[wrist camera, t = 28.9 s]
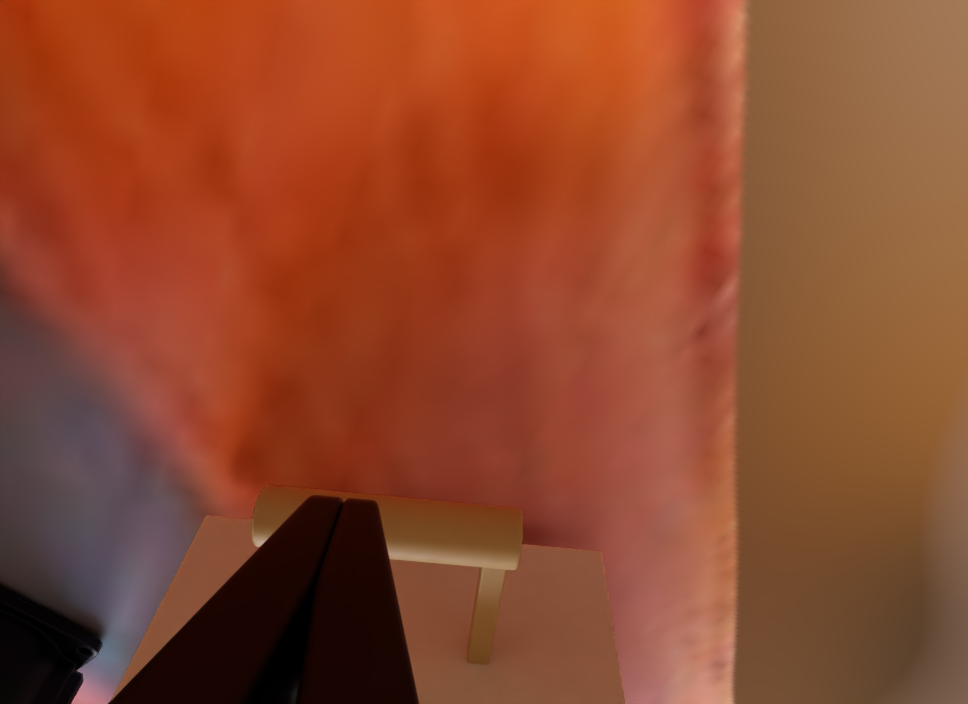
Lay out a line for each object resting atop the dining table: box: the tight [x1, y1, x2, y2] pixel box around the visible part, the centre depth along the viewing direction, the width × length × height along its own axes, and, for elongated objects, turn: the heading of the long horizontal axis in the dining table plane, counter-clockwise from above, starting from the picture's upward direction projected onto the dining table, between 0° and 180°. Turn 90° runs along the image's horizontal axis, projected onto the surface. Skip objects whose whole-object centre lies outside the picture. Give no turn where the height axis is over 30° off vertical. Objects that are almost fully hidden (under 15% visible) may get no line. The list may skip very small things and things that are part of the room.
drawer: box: [111, 485, 625, 704], centre depth 20 cm, size 19×13×6 cm
